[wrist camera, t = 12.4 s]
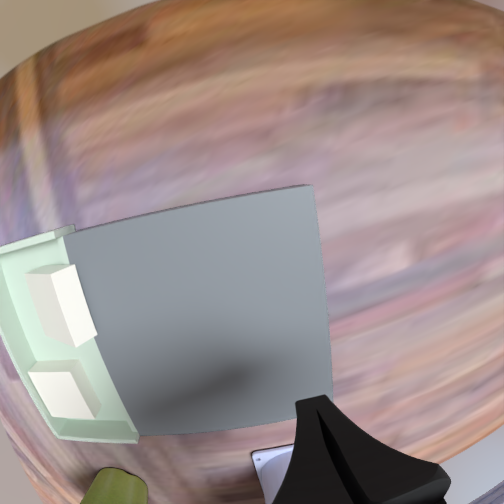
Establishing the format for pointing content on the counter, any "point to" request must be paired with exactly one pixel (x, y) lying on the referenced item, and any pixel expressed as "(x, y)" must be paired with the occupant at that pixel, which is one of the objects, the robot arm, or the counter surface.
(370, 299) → the counter surface
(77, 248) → the board
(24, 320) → the tray
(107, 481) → the plant pot
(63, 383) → the tile
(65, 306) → the tile
